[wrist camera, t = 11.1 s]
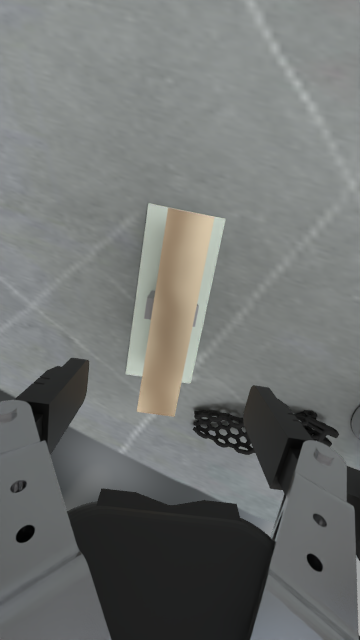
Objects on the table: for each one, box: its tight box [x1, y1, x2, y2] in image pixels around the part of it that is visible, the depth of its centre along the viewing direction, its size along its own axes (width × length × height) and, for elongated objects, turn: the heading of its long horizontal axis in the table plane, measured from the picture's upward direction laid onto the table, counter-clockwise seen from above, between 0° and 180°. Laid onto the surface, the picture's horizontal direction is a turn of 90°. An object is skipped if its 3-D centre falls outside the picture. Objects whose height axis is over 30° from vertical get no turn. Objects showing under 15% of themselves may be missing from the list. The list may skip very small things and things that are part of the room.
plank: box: [137, 208, 215, 417], centre depth 25 cm, size 4×20×5 cm, turn 170°
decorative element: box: [193, 410, 339, 455], centre depth 37 cm, size 22×5×6 cm, turn 86°
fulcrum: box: [126, 203, 226, 384], centre depth 31 cm, size 10×24×7 cm, turn 170°
